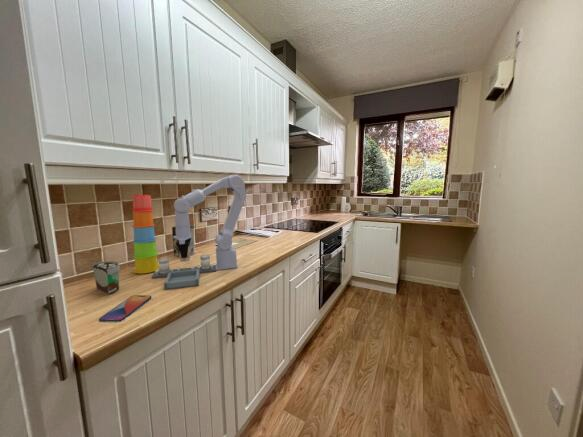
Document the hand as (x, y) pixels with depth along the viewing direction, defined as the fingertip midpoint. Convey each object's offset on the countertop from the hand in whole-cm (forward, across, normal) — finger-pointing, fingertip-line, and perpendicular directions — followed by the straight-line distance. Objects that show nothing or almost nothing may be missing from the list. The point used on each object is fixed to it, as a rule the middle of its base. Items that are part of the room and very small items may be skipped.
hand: (184, 256), depth 108 cm
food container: (+8, +10, -25) cm, 28 cm away
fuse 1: (+7, 0, -9) cm, 11 cm away
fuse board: (+8, 0, 0) cm, 8 cm away
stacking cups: (+8, -8, -17) cm, 20 cm away
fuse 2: (+7, 0, +8) cm, 11 cm away
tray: (+8, +11, 0) cm, 13 cm away
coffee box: (+8, -28, -3) cm, 29 cm away
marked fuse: (+2, 0, 0) cm, 2 cm away
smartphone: (+8, +28, -15) cm, 33 cm away
